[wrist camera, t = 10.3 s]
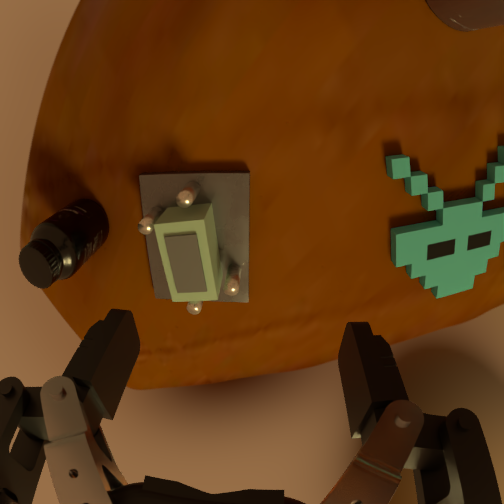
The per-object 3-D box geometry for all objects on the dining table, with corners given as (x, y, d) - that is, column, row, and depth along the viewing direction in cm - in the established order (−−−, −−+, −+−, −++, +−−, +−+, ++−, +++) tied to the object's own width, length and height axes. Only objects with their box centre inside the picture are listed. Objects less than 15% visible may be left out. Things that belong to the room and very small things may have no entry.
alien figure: (384, 155, 32) (389, 300, 40) (391, 159, 30) (394, 309, 38) (505, 145, 29) (495, 271, 38) (515, 148, 27) (503, 278, 36)
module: (167, 207, 33) (152, 225, 29) (211, 202, 33) (203, 220, 28) (182, 277, 37) (172, 303, 33) (222, 275, 37) (217, 301, 32)
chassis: (142, 172, 33) (124, 184, 28) (249, 171, 33) (247, 182, 28) (158, 293, 40) (146, 317, 35) (248, 296, 40) (247, 322, 35)
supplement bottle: (90, 186, 34) (32, 224, 23) (120, 231, 36) (73, 283, 25) (58, 214, 35) (3, 255, 24) (86, 255, 38) (40, 306, 27)
